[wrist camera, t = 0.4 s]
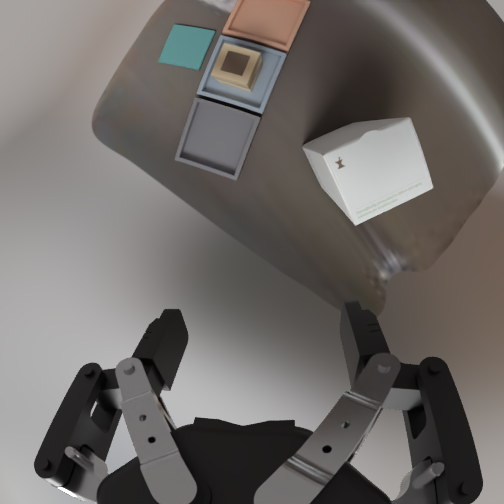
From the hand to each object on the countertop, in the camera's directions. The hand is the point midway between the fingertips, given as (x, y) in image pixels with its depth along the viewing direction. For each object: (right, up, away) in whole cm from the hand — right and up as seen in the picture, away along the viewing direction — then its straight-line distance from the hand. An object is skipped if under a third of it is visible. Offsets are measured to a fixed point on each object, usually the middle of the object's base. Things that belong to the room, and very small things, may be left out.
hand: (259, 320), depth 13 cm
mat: (-9, +30, +14) cm, 34 cm away
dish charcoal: (-5, +18, +20) cm, 27 cm away
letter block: (-2, +25, +15) cm, 30 cm away
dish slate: (-2, +25, +16) cm, 30 cm away
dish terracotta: (+2, +33, +12) cm, 35 cm away
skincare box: (+11, +16, +19) cm, 27 cm away
